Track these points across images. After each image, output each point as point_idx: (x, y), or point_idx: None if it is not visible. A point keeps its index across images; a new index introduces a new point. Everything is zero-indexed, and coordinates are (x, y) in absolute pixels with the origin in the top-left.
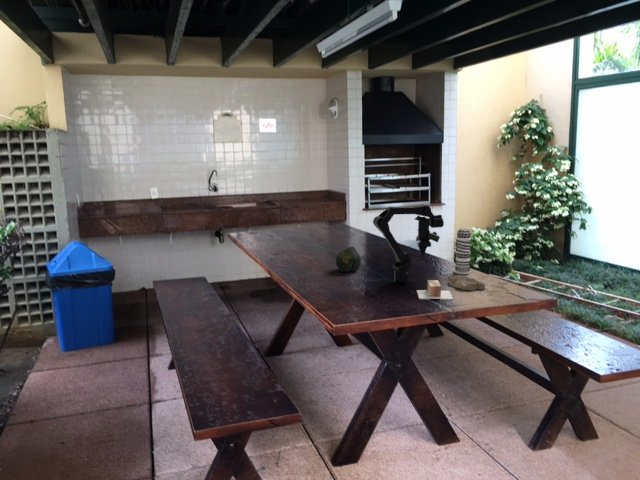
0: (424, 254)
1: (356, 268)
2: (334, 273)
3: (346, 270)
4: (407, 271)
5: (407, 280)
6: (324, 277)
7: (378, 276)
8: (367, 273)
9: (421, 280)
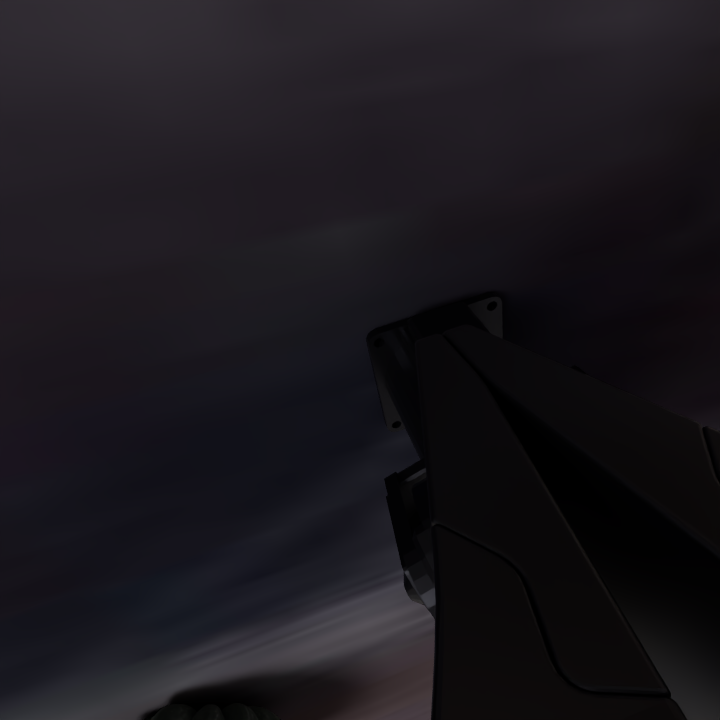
0: (538, 358)
1: (218, 713)
2: (306, 715)
3: (275, 715)
4: (578, 369)
5: (465, 305)
6: (409, 695)
7: (291, 554)
8: (223, 633)
9: (319, 145)
